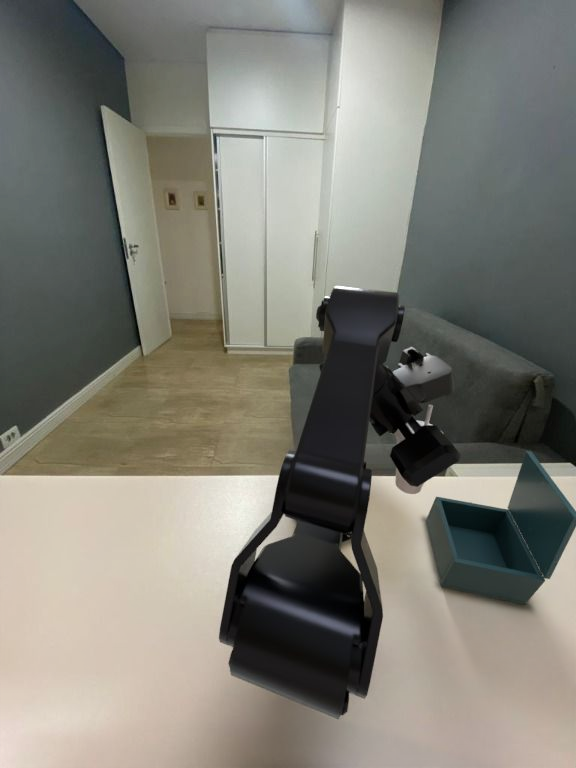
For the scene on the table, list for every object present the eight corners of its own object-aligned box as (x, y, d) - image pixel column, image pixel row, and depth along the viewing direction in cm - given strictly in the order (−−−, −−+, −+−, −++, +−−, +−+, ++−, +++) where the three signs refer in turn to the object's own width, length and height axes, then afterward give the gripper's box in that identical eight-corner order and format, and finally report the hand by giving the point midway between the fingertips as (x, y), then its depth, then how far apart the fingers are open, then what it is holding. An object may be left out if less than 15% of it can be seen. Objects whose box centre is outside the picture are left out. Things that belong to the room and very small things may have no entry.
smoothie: (439, 499, 44) (464, 418, 37) (395, 503, 43) (413, 421, 37) (418, 467, 50) (437, 392, 43) (380, 470, 49) (393, 395, 43)
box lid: (574, 517, 31) (581, 517, 31) (525, 450, 40) (531, 450, 40) (544, 578, 36) (550, 579, 36) (507, 507, 45) (511, 508, 45)
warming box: (440, 586, 40) (454, 561, 38) (425, 520, 49) (435, 496, 46) (525, 605, 39) (545, 580, 36) (493, 533, 48) (508, 509, 45)
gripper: (477, 377, 27) (531, 467, 34) (390, 314, 43) (438, 384, 50) (372, 449, 30) (441, 518, 36) (327, 364, 46) (382, 423, 53)
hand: (424, 450), depth 44 cm, fingers closed on smoothie, 6 cm apart
